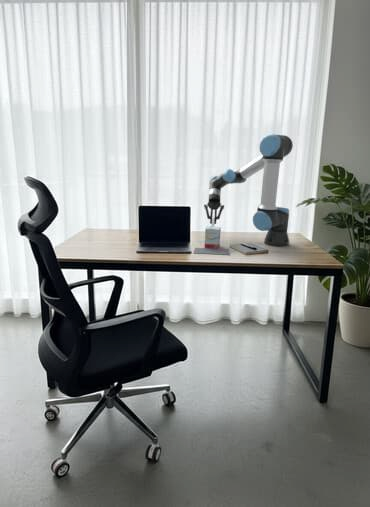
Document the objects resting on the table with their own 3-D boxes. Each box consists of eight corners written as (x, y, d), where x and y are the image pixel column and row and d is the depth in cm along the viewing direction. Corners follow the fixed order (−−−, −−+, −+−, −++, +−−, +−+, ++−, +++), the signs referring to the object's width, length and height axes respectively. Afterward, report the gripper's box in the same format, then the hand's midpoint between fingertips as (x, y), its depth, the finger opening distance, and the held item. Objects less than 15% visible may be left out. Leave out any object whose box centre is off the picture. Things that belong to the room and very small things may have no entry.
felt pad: (229, 249, 215) (229, 249, 215) (229, 255, 203) (229, 254, 203) (195, 248, 217) (195, 247, 217) (193, 253, 205) (193, 252, 205)
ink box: (218, 249, 216) (219, 229, 213) (204, 248, 217) (204, 228, 214) (220, 245, 224) (221, 226, 221) (206, 244, 225) (206, 225, 222)
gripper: (224, 201, 239) (223, 231, 228) (204, 200, 241) (202, 230, 229) (225, 193, 233) (223, 224, 221) (204, 193, 234) (202, 224, 223)
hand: (212, 227), depth 225 cm, fingers closed
